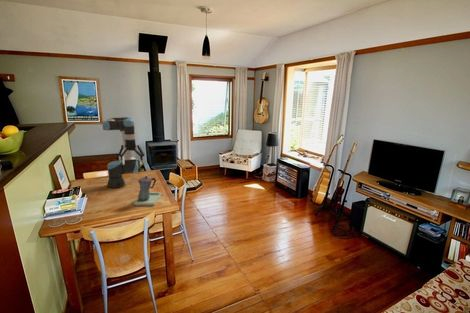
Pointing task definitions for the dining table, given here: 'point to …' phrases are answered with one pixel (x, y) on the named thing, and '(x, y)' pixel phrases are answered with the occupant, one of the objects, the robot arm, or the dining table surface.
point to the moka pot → (145, 187)
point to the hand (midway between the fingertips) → (132, 164)
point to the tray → (150, 202)
